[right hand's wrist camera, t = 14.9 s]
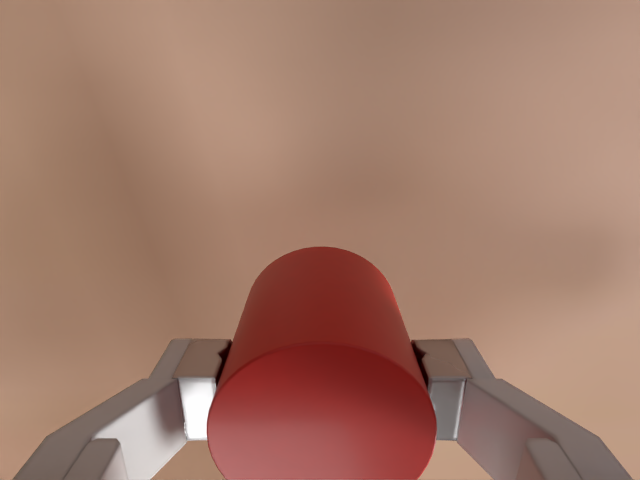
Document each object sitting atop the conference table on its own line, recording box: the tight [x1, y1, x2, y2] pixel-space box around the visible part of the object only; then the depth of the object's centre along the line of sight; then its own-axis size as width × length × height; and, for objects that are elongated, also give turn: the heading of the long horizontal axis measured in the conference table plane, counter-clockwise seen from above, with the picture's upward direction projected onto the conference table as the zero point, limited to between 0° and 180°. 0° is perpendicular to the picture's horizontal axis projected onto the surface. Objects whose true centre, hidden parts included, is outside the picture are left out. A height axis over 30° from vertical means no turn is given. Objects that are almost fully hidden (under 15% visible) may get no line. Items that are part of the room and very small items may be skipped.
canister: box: [206, 247, 437, 480], centre depth 10 cm, size 5×5×5 cm
